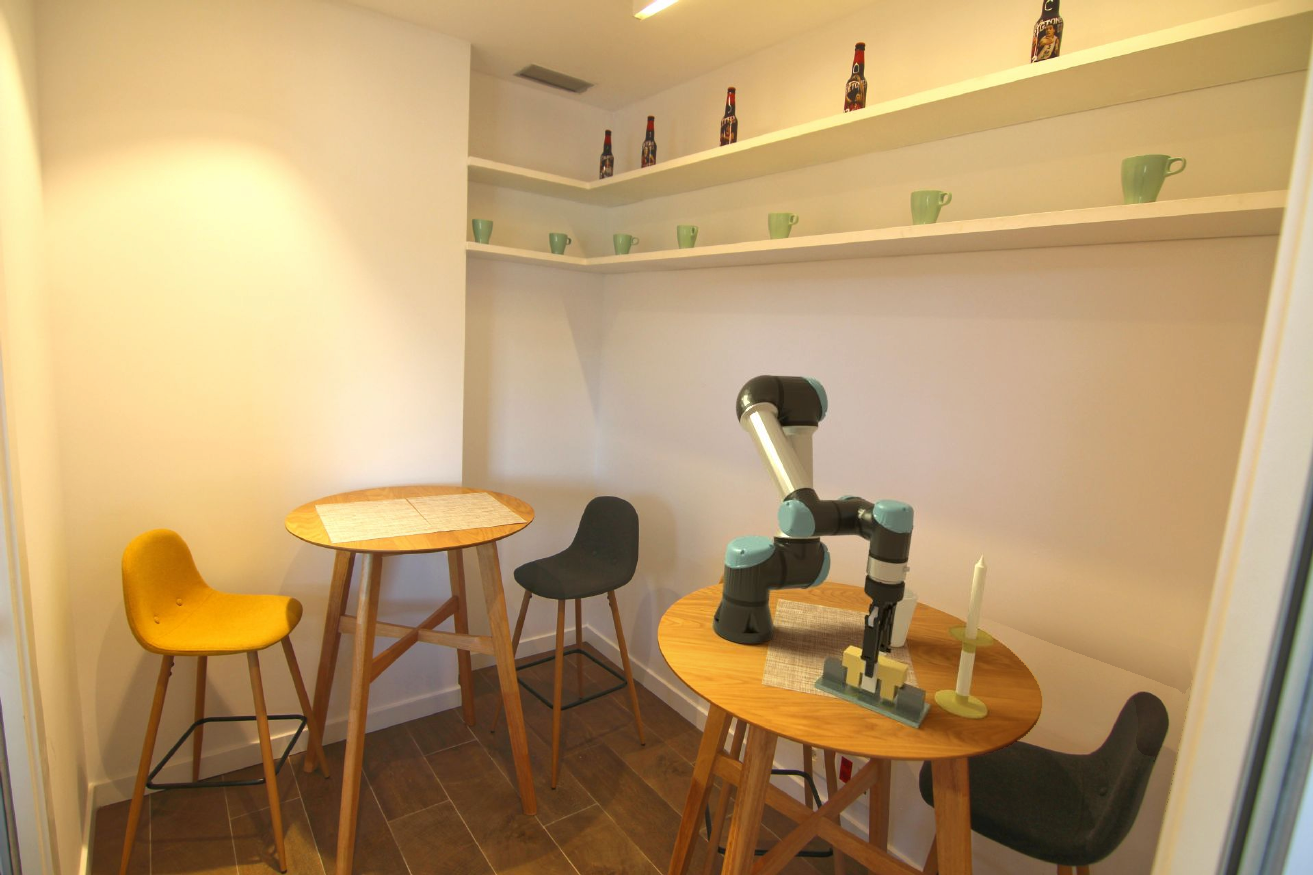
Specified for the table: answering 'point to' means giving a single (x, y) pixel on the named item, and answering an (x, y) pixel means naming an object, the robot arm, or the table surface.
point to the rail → (874, 695)
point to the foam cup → (903, 617)
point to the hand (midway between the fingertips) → (872, 684)
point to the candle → (968, 654)
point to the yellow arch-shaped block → (888, 672)
